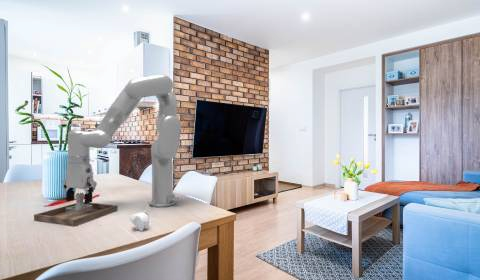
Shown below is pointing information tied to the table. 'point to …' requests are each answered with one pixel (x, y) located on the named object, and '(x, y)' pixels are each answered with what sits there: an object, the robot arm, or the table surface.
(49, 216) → the walnut box
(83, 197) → the cloth
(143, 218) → the elephant figurine
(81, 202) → the rook chess piece
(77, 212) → the metal socket
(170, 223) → the table surface
